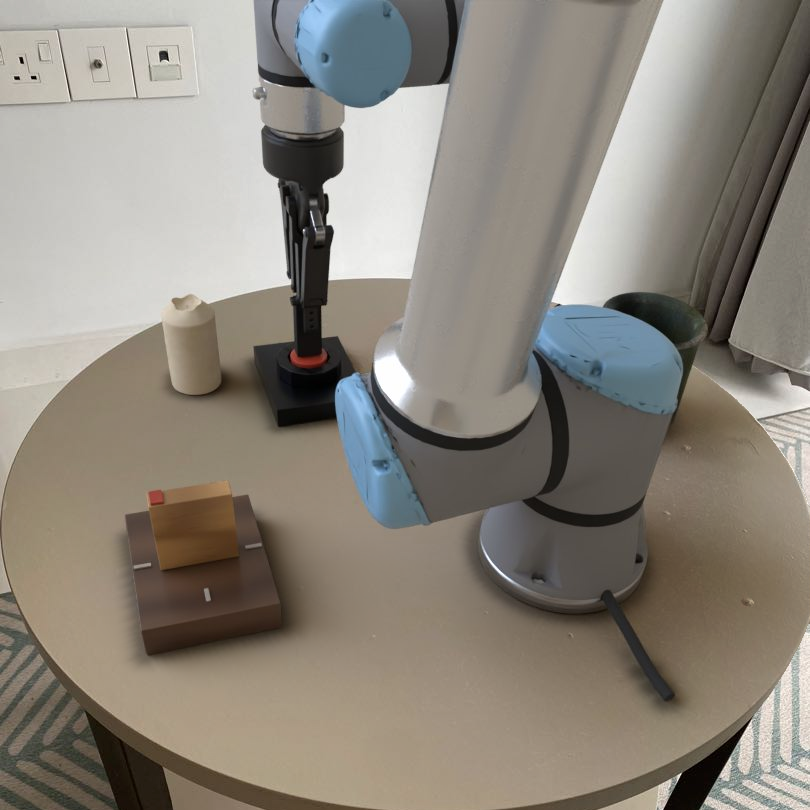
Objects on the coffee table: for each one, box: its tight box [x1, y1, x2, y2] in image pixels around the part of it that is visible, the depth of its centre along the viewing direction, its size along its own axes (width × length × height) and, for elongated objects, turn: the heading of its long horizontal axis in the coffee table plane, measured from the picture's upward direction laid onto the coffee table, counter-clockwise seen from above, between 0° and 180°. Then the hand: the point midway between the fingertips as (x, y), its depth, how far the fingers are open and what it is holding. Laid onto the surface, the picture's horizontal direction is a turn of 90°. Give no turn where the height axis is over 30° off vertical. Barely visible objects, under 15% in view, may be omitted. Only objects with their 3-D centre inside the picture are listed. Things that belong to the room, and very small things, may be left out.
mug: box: [602, 291, 709, 430], centre depth 92 cm, size 11×15×12 cm
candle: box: [160, 293, 222, 396], centre depth 94 cm, size 6×6×10 cm
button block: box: [253, 335, 357, 428], centre depth 97 cm, size 13×10×4 cm
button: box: [290, 349, 327, 368], centre depth 96 cm, size 4×4×2 cm
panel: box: [124, 494, 283, 656], centre depth 75 cm, size 14×11×3 cm
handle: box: [145, 480, 239, 570], centre depth 71 cm, size 6×2×7 cm, turn 108°
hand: (308, 351), depth 95 cm, fingers closed
